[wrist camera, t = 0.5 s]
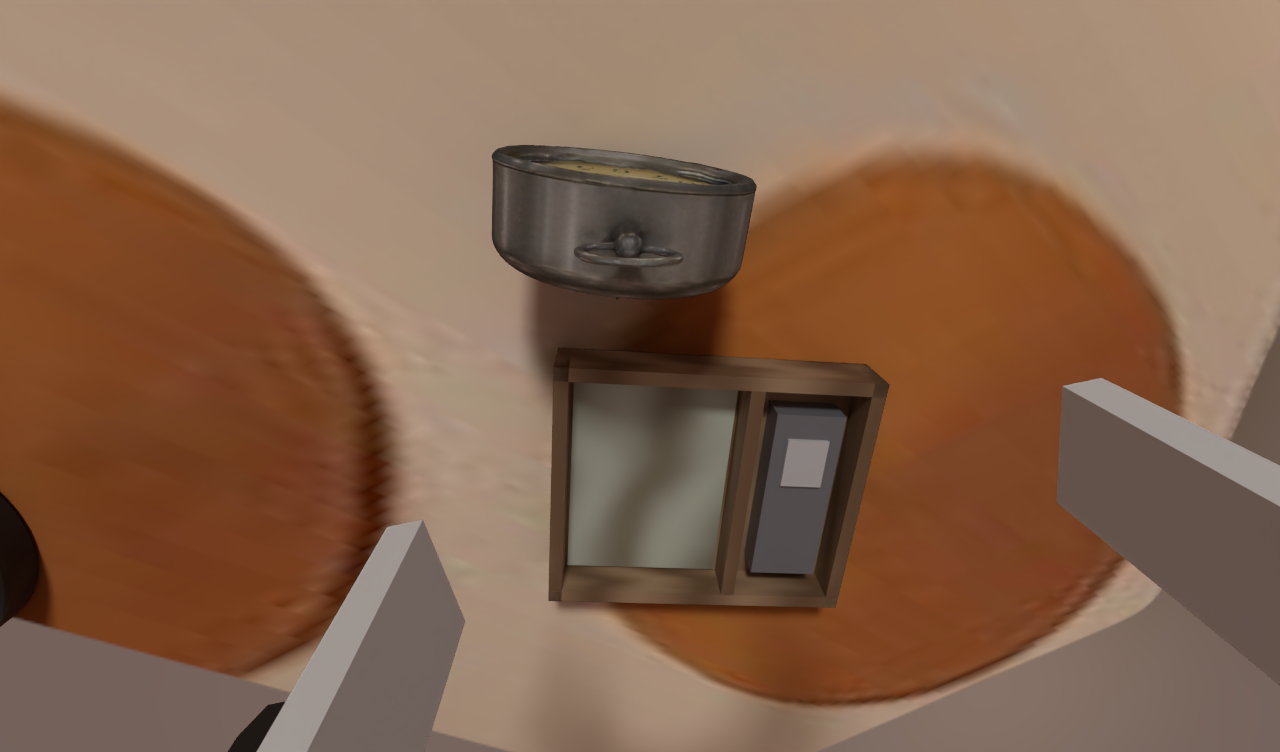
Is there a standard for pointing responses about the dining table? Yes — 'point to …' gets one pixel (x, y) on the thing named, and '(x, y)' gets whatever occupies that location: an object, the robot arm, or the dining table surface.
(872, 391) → the organizer tray
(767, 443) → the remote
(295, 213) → the dining table surface
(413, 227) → the dining table surface
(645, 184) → the alarm clock
